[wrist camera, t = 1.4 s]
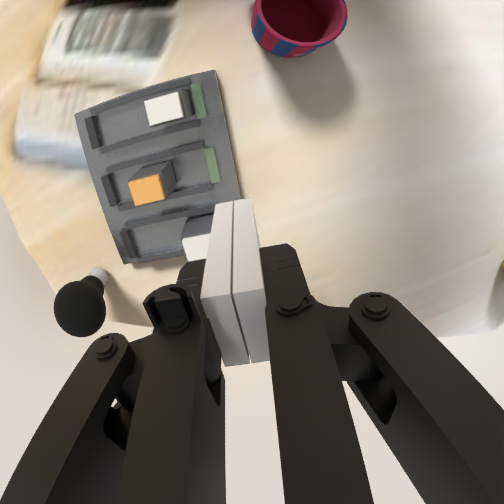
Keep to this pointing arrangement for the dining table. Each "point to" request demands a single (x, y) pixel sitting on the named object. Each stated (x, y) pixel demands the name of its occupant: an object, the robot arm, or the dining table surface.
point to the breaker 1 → (168, 107)
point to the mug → (297, 25)
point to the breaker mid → (152, 183)
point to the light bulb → (82, 304)
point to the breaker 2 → (196, 237)
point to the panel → (154, 152)
